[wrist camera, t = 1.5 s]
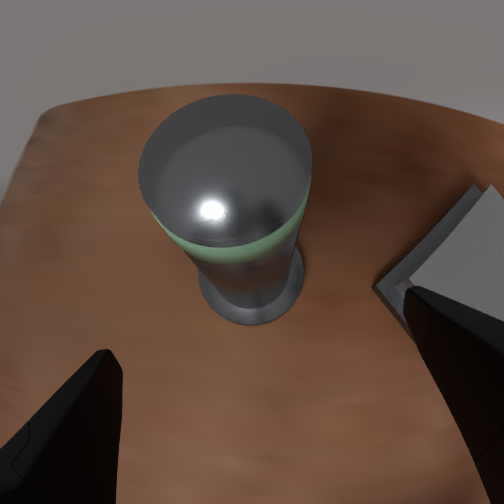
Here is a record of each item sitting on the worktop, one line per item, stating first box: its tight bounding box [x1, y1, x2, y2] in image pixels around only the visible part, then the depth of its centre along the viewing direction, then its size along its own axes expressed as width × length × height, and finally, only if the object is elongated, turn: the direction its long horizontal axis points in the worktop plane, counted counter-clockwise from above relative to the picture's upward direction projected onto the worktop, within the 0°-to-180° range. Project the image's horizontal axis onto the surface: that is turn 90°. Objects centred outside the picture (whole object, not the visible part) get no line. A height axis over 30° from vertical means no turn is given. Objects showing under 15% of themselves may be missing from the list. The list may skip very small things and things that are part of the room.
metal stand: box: [372, 184, 504, 344], centre depth 18 cm, size 14×14×4 cm
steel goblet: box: [138, 94, 312, 326], centre depth 15 cm, size 7×7×14 cm
